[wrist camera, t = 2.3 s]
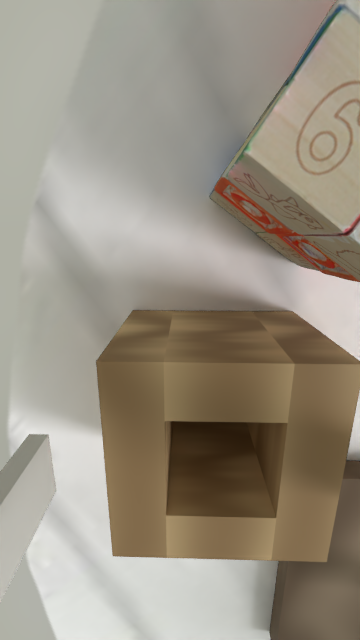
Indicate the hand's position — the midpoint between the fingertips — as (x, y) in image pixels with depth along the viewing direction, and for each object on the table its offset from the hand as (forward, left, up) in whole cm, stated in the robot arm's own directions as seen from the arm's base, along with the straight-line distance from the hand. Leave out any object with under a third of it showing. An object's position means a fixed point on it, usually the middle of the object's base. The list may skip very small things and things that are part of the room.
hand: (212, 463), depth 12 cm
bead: (0, 0, -6) cm, 6 cm away
